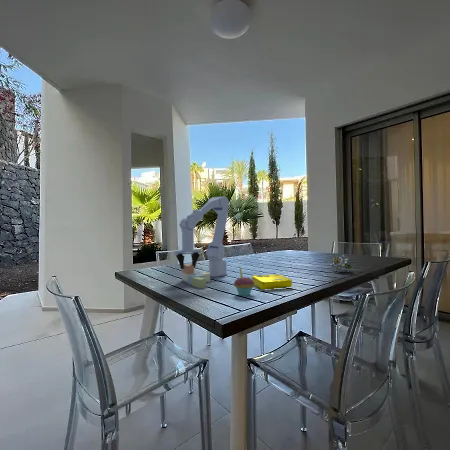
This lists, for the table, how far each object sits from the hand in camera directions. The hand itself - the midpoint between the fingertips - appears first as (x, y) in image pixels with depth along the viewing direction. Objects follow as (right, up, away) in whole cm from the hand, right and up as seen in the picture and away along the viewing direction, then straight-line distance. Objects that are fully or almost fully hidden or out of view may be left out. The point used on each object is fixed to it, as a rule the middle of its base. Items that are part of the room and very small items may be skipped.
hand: (188, 268), depth 150 cm
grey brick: (0, -7, 0) cm, 7 cm away
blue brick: (+4, -7, -7) cm, 10 cm away
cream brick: (+9, -7, 0) cm, 12 cm away
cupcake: (+27, -7, -28) cm, 39 cm away
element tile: (+41, -7, -12) cm, 43 cm away
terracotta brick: (0, -3, 0) cm, 3 cm away
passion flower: (+88, -6, +24) cm, 92 cm away
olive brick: (+7, -7, -13) cm, 16 cm away
